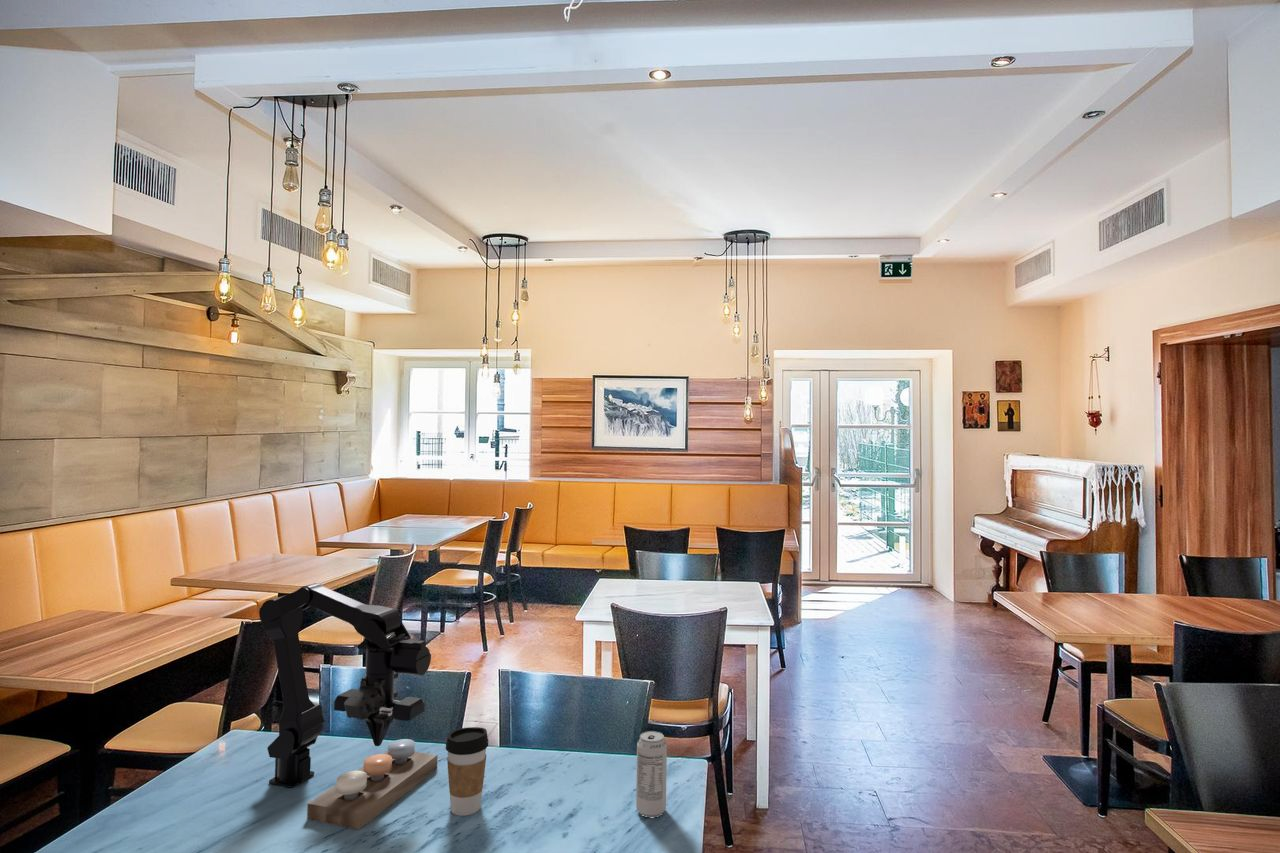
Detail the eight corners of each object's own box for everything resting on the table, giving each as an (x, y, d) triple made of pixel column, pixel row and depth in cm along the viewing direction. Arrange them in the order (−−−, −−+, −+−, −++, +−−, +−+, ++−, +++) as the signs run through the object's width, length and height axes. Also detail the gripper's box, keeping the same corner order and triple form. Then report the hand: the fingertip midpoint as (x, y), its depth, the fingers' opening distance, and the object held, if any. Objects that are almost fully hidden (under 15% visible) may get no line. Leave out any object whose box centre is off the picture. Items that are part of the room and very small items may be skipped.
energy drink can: (669, 807, 138) (670, 732, 138) (660, 822, 132) (661, 744, 133) (641, 801, 140) (642, 728, 140) (631, 816, 134) (632, 739, 135)
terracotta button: (356, 788, 140) (357, 763, 141) (374, 776, 146) (375, 752, 146) (380, 792, 139) (380, 767, 139) (397, 780, 144) (397, 756, 144)
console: (307, 819, 131) (307, 803, 132) (391, 761, 156) (391, 747, 157) (359, 829, 128) (359, 813, 128) (437, 768, 153) (437, 755, 153)
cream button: (329, 807, 133) (330, 781, 133) (349, 793, 138) (349, 769, 138) (353, 812, 131) (354, 786, 131) (372, 798, 137) (373, 773, 137)
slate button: (381, 771, 148) (382, 747, 148) (397, 760, 153) (398, 737, 154) (403, 774, 147) (404, 751, 147) (419, 763, 152) (419, 740, 152)
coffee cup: (476, 821, 131) (477, 743, 132) (436, 816, 133) (438, 738, 134) (493, 800, 140) (495, 726, 140) (456, 795, 141) (457, 722, 142)
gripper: (315, 677, 138) (313, 755, 138) (394, 688, 133) (391, 769, 132) (353, 661, 149) (350, 733, 148) (427, 670, 144) (424, 745, 143)
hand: (377, 745), depth 143 cm, fingers closed
